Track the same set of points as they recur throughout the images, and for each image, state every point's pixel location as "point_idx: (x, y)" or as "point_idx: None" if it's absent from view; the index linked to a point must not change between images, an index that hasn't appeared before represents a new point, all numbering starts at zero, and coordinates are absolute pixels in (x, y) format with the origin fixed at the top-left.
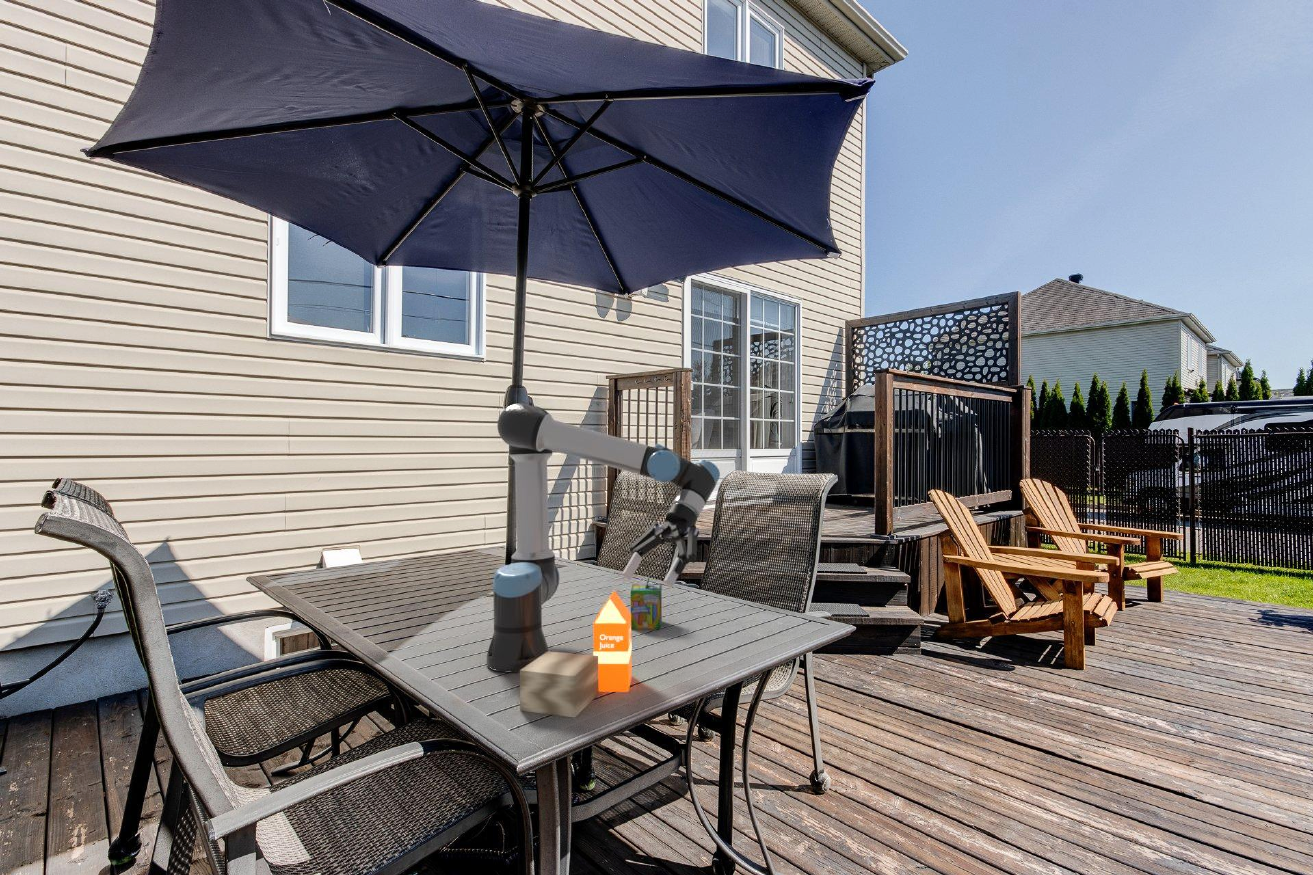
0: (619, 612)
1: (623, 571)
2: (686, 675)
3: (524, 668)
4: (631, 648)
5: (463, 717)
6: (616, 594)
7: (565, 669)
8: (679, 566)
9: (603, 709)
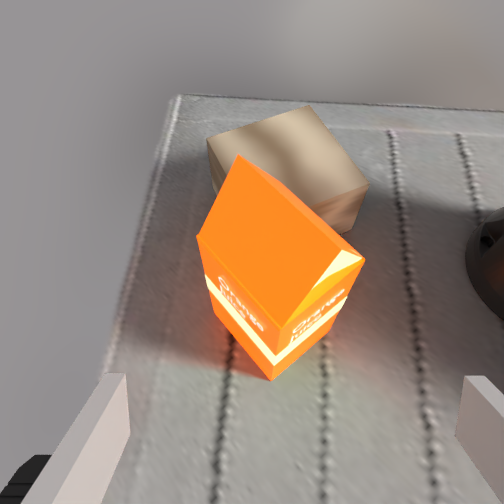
0: (215, 202)
1: (491, 384)
2: (159, 490)
3: (311, 112)
4: (272, 362)
5: (340, 107)
6: (320, 254)
7: (246, 146)
8: (13, 489)
9: (196, 231)
